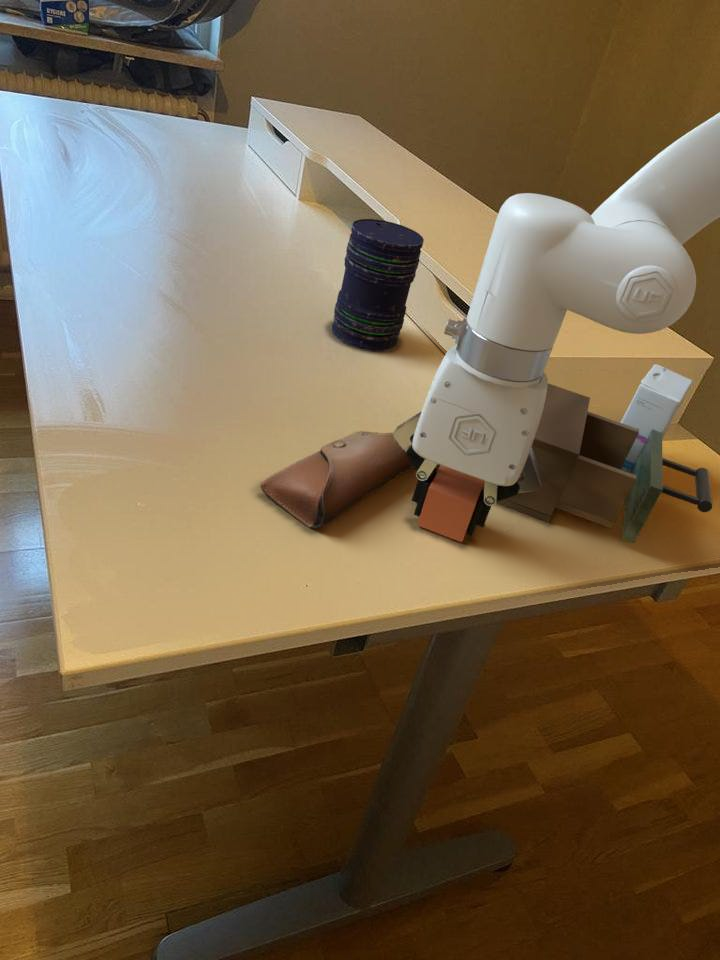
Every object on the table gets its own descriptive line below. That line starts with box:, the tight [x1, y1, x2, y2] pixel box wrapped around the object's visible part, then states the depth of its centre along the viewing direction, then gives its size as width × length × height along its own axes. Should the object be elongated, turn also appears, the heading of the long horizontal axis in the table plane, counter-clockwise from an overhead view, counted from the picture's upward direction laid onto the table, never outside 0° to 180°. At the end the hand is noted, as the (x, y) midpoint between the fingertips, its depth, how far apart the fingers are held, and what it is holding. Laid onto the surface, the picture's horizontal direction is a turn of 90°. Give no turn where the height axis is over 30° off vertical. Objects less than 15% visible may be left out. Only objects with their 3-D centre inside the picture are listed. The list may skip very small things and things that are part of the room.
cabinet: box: [436, 383, 591, 523], centre depth 81 cm, size 14×14×9 cm
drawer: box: [555, 411, 713, 544], centre depth 79 cm, size 18×13×7 cm
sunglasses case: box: [259, 431, 414, 529], centre depth 74 cm, size 18×7×7 cm, turn 144°
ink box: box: [620, 364, 694, 473], centre depth 87 cm, size 9×5×12 cm, turn 148°
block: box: [416, 465, 485, 543], centre depth 71 cm, size 5×5×5 cm
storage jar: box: [331, 218, 425, 352], centre depth 101 cm, size 10×10×15 cm
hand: (446, 516), depth 72 cm, fingers closed on block, 4 cm apart
